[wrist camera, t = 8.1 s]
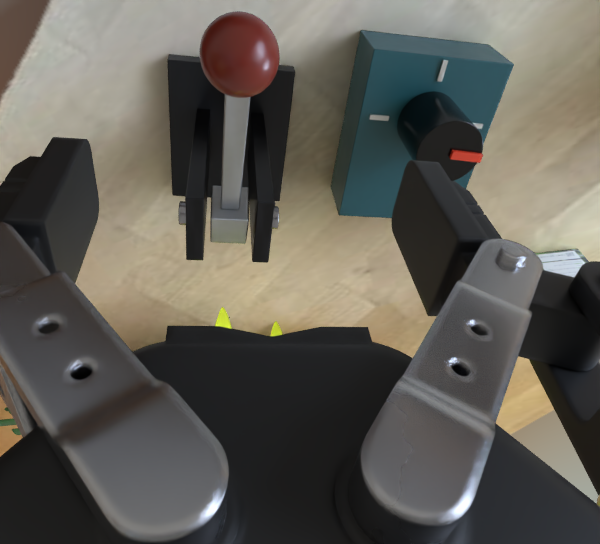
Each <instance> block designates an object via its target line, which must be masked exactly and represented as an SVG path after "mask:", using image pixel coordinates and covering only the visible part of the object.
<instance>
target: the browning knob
mask: <svg viewBox="0 0 600 544" xmlns="http://www.w3.org/2000/svg"><path fill="white" fill-rule="evenodd" d="M397 131H398V135H399V137H400V139H401V141H402V143H403V144H404V146H405V148H406V150H407V151H408V153H409V155H410V156H411V158H412V160H414V161H430V162H438V163H440V165H441V166H442V168H443V169H444V171H445V172H446V174H447V175H448V177H449V178H450V180H451V181H455V180H457V179H459V178H461V177H463V176H464V175H466V174H467V173H468V172H470V171H471V170H472V169H473V168H474V166H475V165H476V164H477V162H478V163H480V162H481V159H482V157H483V154H482V150H483V139H482V135H481V133H480V131H479V130H478V129H477V127H476V126H475V125H474V124H473V123H472V122H471V121H470V119H469V118H468V117H467V116H466V115H465V114H464V113H463V111H462V110H461V109H460V108H459V107H458V106H457V105H456V103H455V102H454V101H453V100H452V99H451V98H450V97H449V96H448V95H446V94H444V93H441V92H436V91H431V92H425V93H422V94H420V95H417V96H416V97H414V98H413V99H411V100H410V101H409V102H408V103H407V104H406V105H405V106H404V108H403V109H402V111H401V113H400V115H399V118H398V122H397Z"/></svg>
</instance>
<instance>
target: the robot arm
mask: <svg viewBox="0 0 600 544" xmlns="http://www.w3.org/2000/svg"><path fill="white" fill-rule="evenodd" d="M98 213H99V198H98V191H97V184H96V178H95V171H94V165H93V159H92V152H91V147H90V144H89V141H88V140H87V139H75V138H59V137H53V138H52V139H51V141H50V143H49V144H48V146H47V148H46V149H45V151H44V153H43V154H42V156H41V157H32V156H30V157H28V158H27V159H25V160H23V161H22V162H20V163H18V164H17V165H15V166H14V167H13V168H12V169H11V171H10V172H9V174H8V175H7V177H6V178H5V181H3V183H2V184H1V186H0V395H1V397H2V399H3V400H4V402H5V404H6V406H7V407H8V409H9V411H10V413H11V414H12V416H13V418H14V420H15V422H16V424H17V426H18V428H19V431H20V433H21V435H22V437H23V438H22V439H21V440H20V441H19V442H17V443H16V444H15V445H14V446H13V447H11V448H10V449H9V450H8V451H7V452H5V453H4V454H3V455H2V456H1V457H0V544H600V363H599V360H600V262H587V263H585V264H583V265H582V266H581V268H580V269H579V271H578V273H577V274H576V276H575V277H571V276H566V275H562V274H558V273H554V272H550V271H546V270H543V264H542V261H541V260H540V258H539V257H538V256H537V255H536V254H535V253H534V252H533V251H531V250H530V249H528V248H527V247H525V246H523V245H521V244H519V243H516V242H513V241H510V240H505V239H502V238H501V237H500V235H499V234H498V232H497V231H496V229H495V228H494V226H493V225H492V224H491V222H490V221H489V219H488V218H487V216H486V215H484V212H483V211H482V209H481V208H480V206H479V205H477V202H476V201H475V199H474V198H473V196H472V195H471V193H470V192H469V191H468V190H466V189H465V188H464V187H462V186H461V185H460V184H458V183H457V182H456V181H451V180H450V178H449V177H448V175H447V174H446V172H445V171H444V169H443V168H442V166H441V165H440V163H438V162H430V161H414V160H411V161H409V162H408V163H407V165H406V167H405V170H404V173H403V177H402V180H401V184H400V187H399V191H398V195H397V198H396V202H395V205H394V209H393V213H392V230H393V234H394V236H395V239H396V241H397V243H398V246H399V248H400V251H401V253H402V255H403V258H404V260H405V262H406V265H407V267H408V269H409V272H410V274H411V277H412V279H413V281H414V284H415V286H416V288H417V291H418V293H419V295H420V298H421V300H422V303H423V305H424V307H425V310H426V312H427V314H428V316H437V317H436V319H435V321H434V322H433V324H432V326H431V328H430V329H429V331H428V333H427V335H426V336H425V338H424V340H423V342H422V343H421V345H420V347H419V349H418V350H417V352H416V354H415V355H414V357H413V358H411V357H410V356H408V355H406V354H404V353H402V352H400V351H398V350H396V349H393V348H391V347H388V346H385V345H382V344H379V343H374V342H372V340H371V337H370V333H369V330H368V327H318V328H313V329H308V330H303V331H298V332H293V333H288V334H283V335H278V336H266V335H261V334H256V333H251V332H246V331H241V330H235V329H230V328H225V327H220V326H168V327H167V335H166V341H164V342H159V343H155V344H152V345H149V346H145V347H143V348H141V349H138V350H136V351H133V352H132V351H131V350H130V349H129V347H128V346H127V345H126V344H125V343H124V342H123V340H122V339H121V338H120V337H119V336H118V334H117V333H116V332H115V331H114V330H113V329H112V327H111V326H110V325H109V324H108V323H107V321H106V320H105V319H104V318H103V317H102V315H101V314H100V313H99V312H98V311H97V310H96V308H95V307H94V306H93V305H92V304H91V302H90V301H89V300H88V299H87V298H86V296H85V295H84V294H83V293H82V292H81V291H80V289H79V288H78V287H77V286H76V285H75V282H76V280H77V277H78V274H79V271H80V268H81V265H82V263H83V260H84V257H85V254H86V251H87V248H88V246H89V243H90V240H91V237H92V234H93V231H94V229H95V226H96V223H97V220H98ZM518 356H520V357H524V358H528V359H529V360H530V362H531V364H532V366H533V368H534V370H535V372H536V374H537V376H538V378H539V380H540V382H541V384H542V386H543V388H544V390H545V392H546V394H547V396H548V398H549V399H550V401H551V403H552V405H553V407H554V409H555V411H556V413H557V415H558V417H559V419H560V421H561V423H562V425H563V427H564V429H565V431H566V433H567V435H568V437H569V439H570V440H571V442H572V444H573V446H574V448H575V450H576V452H577V454H578V456H579V458H580V460H581V462H582V464H583V466H584V468H585V470H586V472H587V474H588V476H589V478H590V480H591V482H592V484H593V486H594V488H595V489H596V491H597V493H598V495H599V497H598V500H597V504H596V503H595V502H594V501H592V500H591V499H590V498H589V497H587V496H586V495H585V494H584V493H582V492H581V491H580V490H578V489H577V488H576V487H575V486H573V485H572V484H571V483H570V482H568V481H567V480H566V479H565V478H563V477H562V476H561V475H560V474H558V473H557V472H556V471H555V470H553V469H552V468H551V467H550V466H548V465H547V464H546V463H545V462H543V461H542V460H541V459H540V458H538V457H537V456H536V455H534V454H533V453H532V452H531V451H529V450H528V449H527V448H526V447H525V446H523V445H522V444H520V443H519V442H518V441H517V440H516V439H514V438H513V437H512V436H511V435H509V434H508V433H507V432H506V431H504V430H503V429H502V428H501V427H499V426H498V425H497V424H496V419H497V416H498V413H499V410H500V408H501V405H502V402H503V399H504V396H505V393H506V390H507V387H508V384H509V381H510V378H511V375H512V372H513V369H514V366H515V363H516V360H517V357H518Z"/></svg>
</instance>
